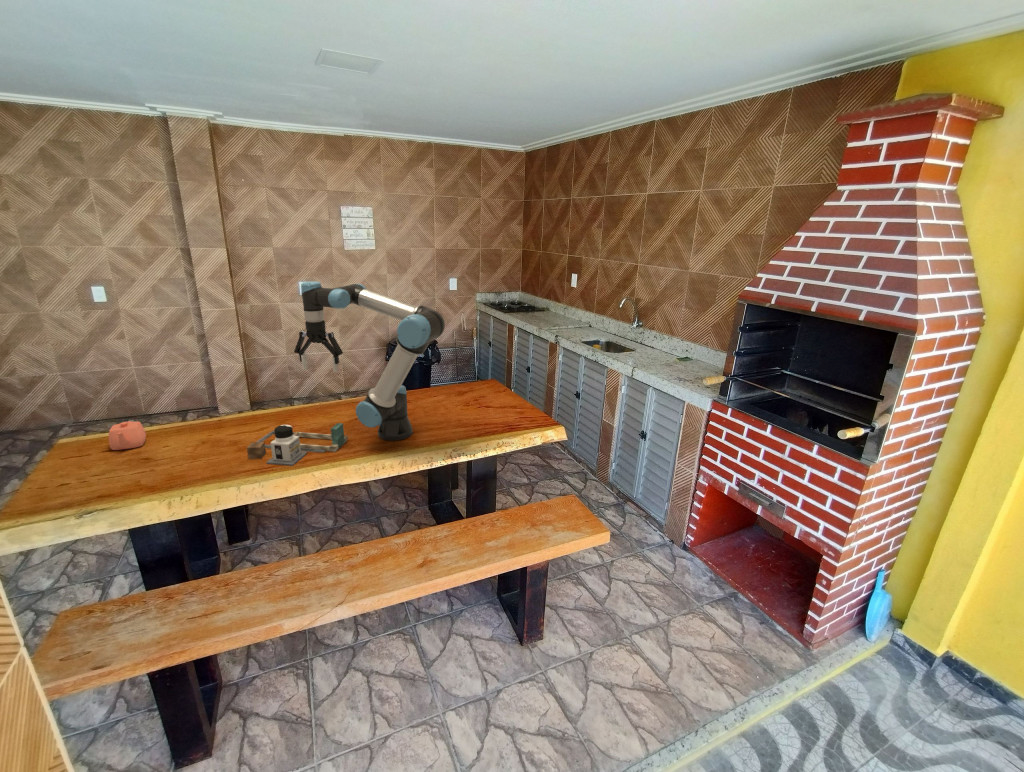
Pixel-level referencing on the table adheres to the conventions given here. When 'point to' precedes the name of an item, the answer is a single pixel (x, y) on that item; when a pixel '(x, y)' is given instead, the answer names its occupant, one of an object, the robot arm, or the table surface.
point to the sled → (335, 436)
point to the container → (285, 444)
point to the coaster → (287, 461)
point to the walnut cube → (256, 450)
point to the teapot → (126, 435)
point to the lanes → (293, 434)
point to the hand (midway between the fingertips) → (320, 370)
